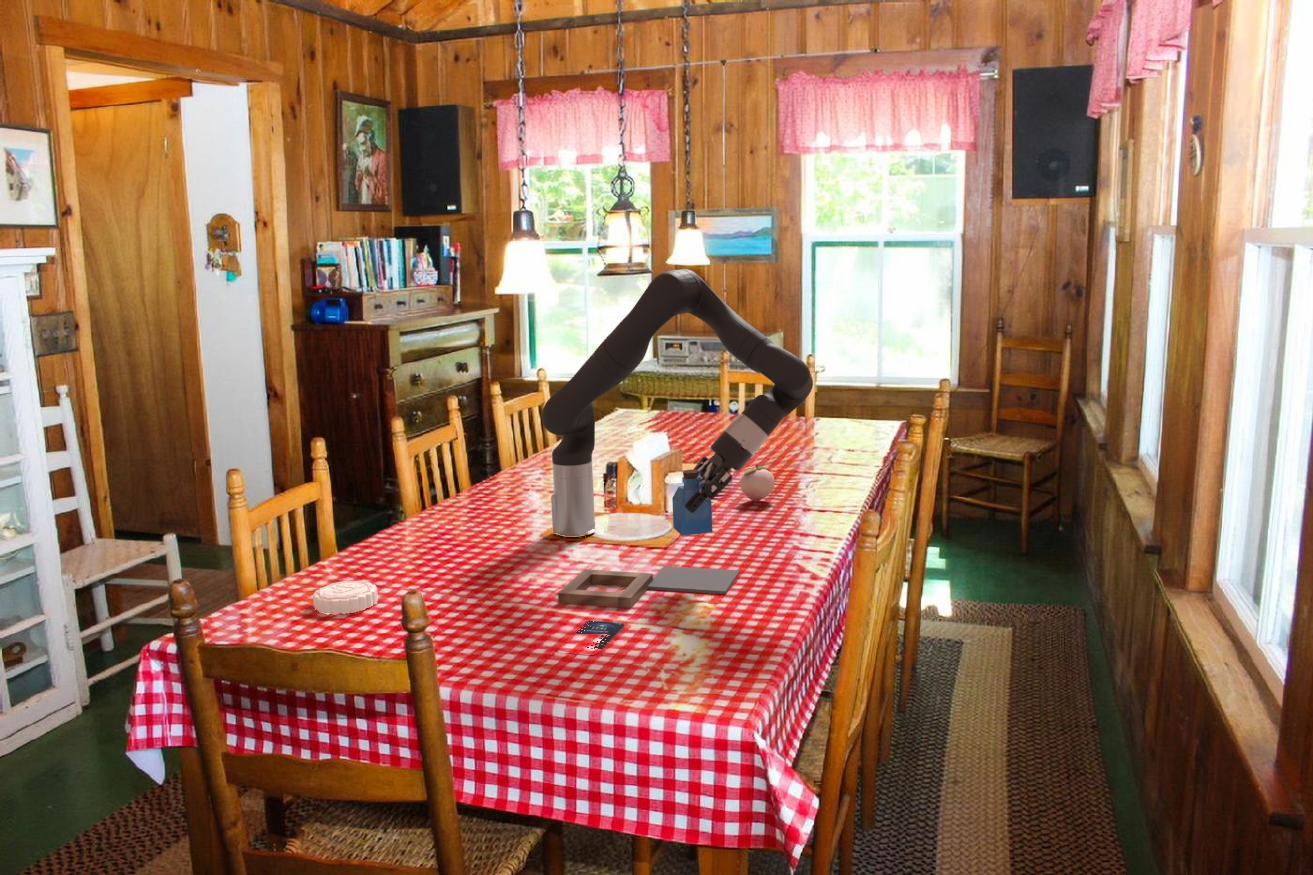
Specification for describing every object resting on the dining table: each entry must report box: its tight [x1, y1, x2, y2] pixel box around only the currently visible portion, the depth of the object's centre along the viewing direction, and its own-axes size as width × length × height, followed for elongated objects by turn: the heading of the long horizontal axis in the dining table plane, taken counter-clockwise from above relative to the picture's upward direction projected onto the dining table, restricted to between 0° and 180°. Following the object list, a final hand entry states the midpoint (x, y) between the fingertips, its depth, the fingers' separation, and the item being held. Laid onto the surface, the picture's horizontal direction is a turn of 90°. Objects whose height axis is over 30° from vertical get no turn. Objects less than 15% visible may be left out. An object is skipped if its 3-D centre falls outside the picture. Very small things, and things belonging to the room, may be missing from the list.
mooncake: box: [312, 580, 379, 614], centre depth 207 cm, size 12×12×4 cm
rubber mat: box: [648, 565, 740, 595], centre depth 214 cm, size 16×13×1 cm
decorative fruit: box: [739, 463, 775, 503], centre depth 273 cm, size 9×8×10 cm
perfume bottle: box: [671, 469, 713, 537], centre depth 211 cm, size 6×6×12 cm
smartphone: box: [573, 620, 626, 650], centre depth 186 cm, size 8×1×15 cm
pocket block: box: [557, 569, 654, 609], centre depth 209 cm, size 15×15×2 cm
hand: (683, 505), depth 211 cm, fingers closed on perfume bottle, 6 cm apart
